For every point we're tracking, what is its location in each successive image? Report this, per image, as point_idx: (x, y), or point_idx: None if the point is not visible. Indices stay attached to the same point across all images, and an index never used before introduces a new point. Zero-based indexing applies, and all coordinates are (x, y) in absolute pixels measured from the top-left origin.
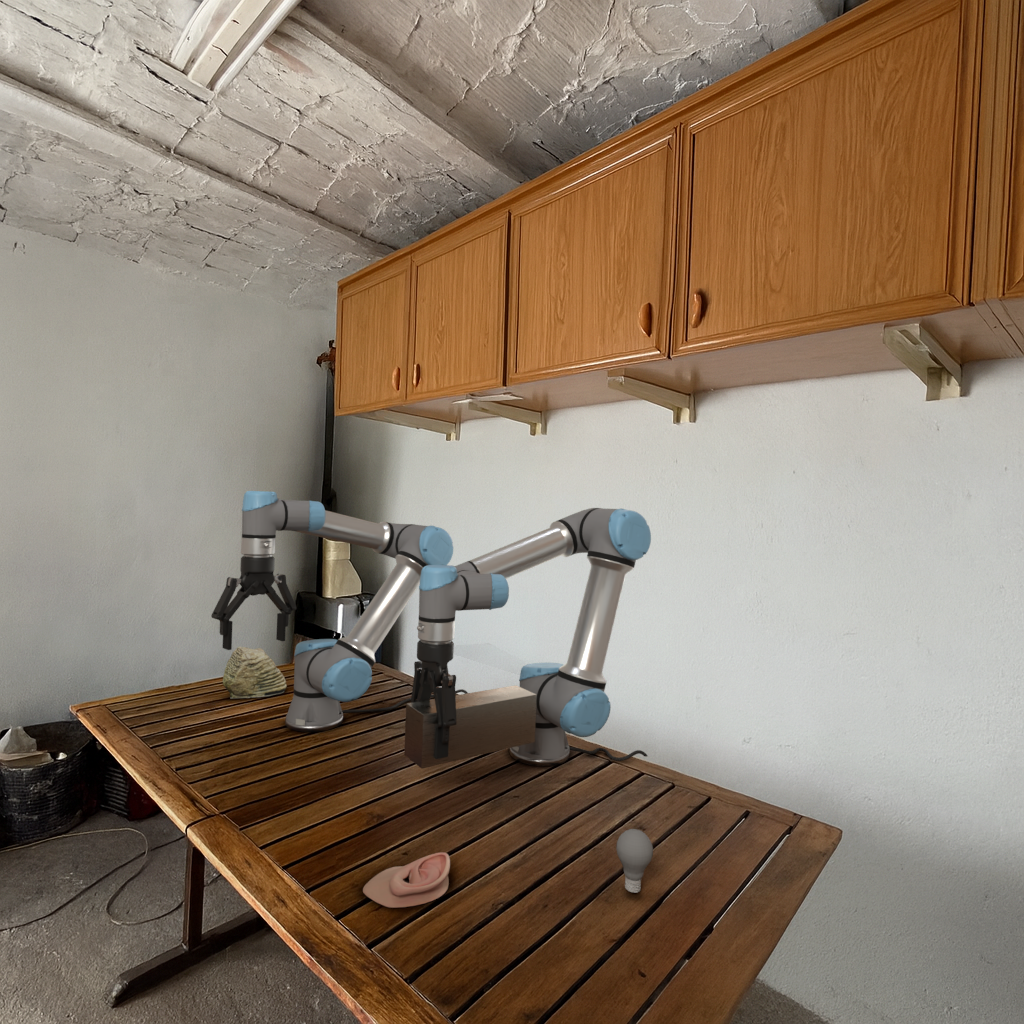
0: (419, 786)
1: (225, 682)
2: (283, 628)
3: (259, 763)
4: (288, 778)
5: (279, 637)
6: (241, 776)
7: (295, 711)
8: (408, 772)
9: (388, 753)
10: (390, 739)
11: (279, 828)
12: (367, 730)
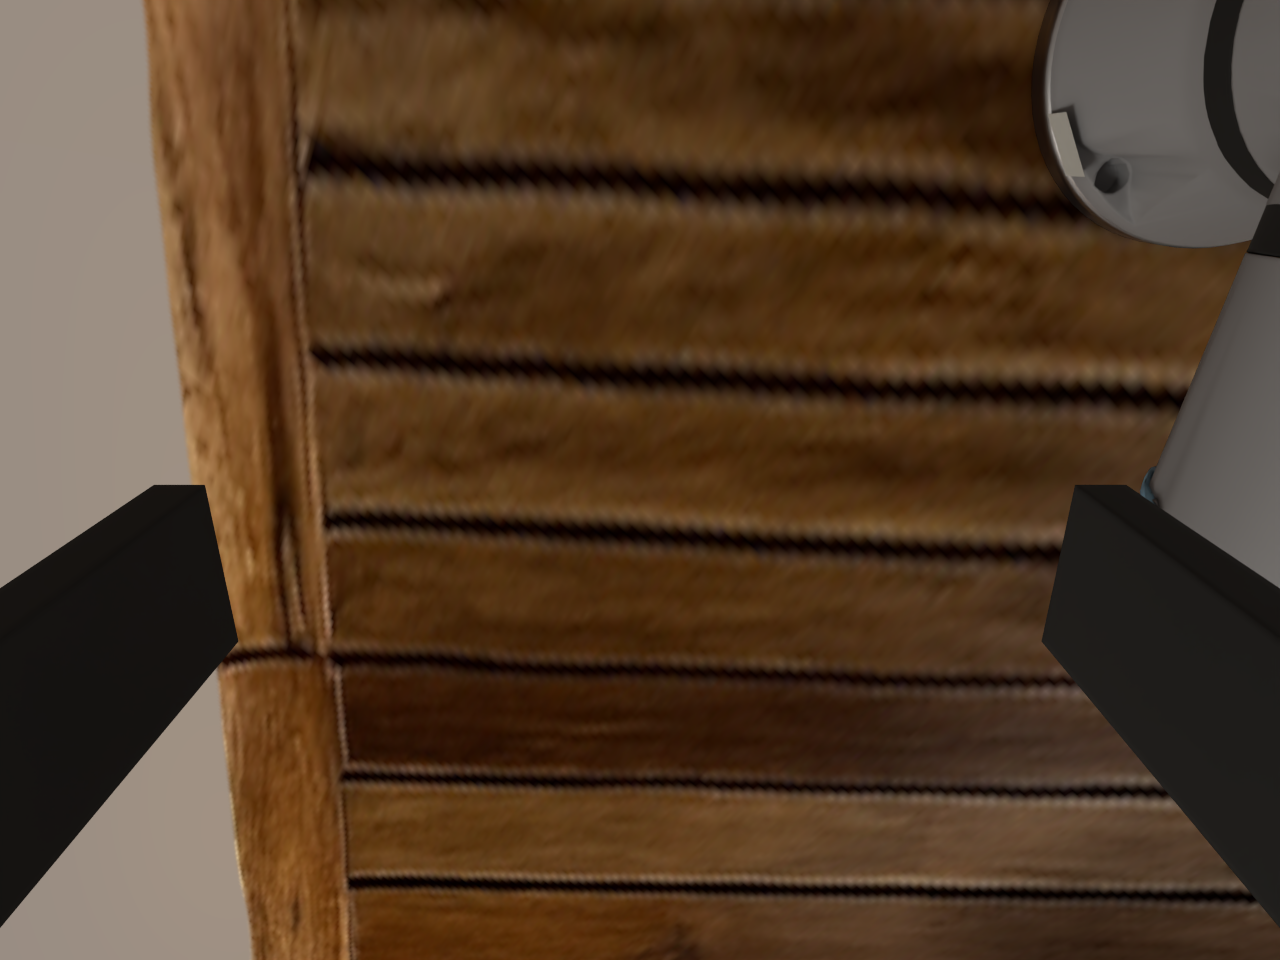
0: (913, 911)
1: None
2: (1172, 785)
3: (638, 378)
4: (643, 589)
5: (1083, 589)
6: (513, 446)
7: (1113, 66)
8: (978, 827)
9: None
10: None
11: (436, 839)
12: None
